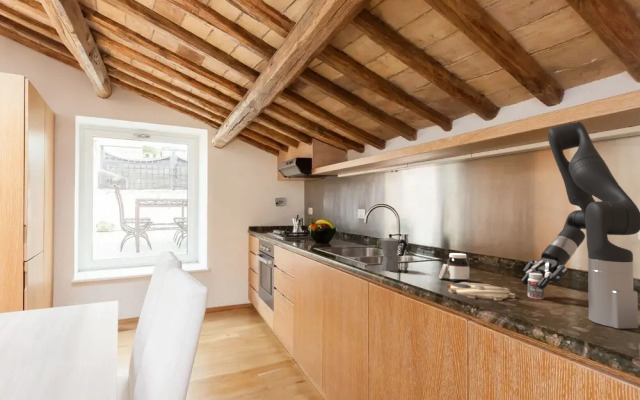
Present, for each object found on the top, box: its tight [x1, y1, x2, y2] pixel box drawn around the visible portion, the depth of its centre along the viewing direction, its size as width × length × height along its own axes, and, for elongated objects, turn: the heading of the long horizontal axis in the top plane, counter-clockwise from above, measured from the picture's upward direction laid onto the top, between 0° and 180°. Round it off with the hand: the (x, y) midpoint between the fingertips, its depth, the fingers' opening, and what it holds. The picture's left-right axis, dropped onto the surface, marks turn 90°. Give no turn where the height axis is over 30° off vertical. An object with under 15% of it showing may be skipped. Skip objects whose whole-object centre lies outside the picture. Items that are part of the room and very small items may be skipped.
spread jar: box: [438, 252, 470, 283], centre depth 141 cm, size 12×11×12 cm
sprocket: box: [446, 281, 516, 301], centre depth 121 cm, size 23×23×2 cm
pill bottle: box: [527, 272, 545, 300], centre depth 115 cm, size 5×5×8 cm
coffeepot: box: [378, 233, 408, 272], centre depth 165 cm, size 15×9×18 cm, turn 51°
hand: (531, 285), depth 115 cm, fingers open, 6 cm apart
